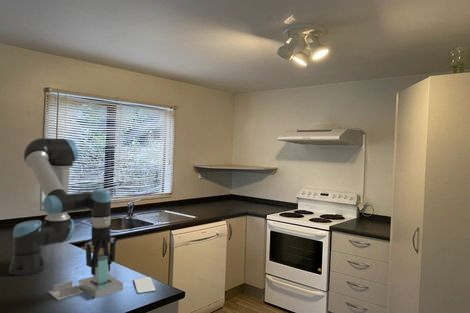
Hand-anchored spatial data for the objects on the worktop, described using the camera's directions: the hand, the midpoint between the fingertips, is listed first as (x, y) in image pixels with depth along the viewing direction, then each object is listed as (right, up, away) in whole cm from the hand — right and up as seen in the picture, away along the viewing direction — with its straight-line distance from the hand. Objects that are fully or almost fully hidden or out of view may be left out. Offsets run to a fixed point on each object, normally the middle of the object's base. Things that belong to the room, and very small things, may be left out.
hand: (100, 280), depth 147 cm
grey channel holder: (-13, -4, -5) cm, 14 cm away
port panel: (0, -4, 0) cm, 4 cm away
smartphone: (+18, -4, +4) cm, 19 cm away
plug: (0, -2, 0) cm, 2 cm away
